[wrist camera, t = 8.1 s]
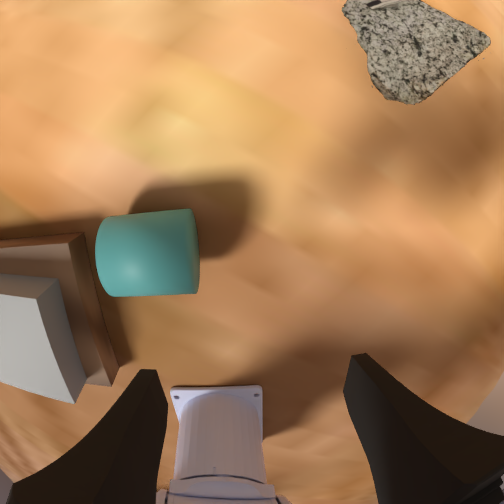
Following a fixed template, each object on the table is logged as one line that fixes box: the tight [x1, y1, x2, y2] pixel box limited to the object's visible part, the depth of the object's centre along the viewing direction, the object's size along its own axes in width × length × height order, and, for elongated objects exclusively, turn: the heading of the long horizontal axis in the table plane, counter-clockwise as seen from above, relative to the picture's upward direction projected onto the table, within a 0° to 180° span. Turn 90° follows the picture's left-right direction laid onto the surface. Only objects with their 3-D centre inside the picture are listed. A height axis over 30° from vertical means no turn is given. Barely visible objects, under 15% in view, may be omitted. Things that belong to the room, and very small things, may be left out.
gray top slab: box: [0, 273, 87, 404], centre depth 16 cm, size 9×9×3 cm
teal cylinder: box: [95, 208, 200, 297], centre depth 17 cm, size 5×5×5 cm
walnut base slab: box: [0, 232, 119, 387], centre depth 19 cm, size 12×12×3 cm
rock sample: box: [342, 0, 491, 105], centre depth 13 cm, size 10×8×9 cm
